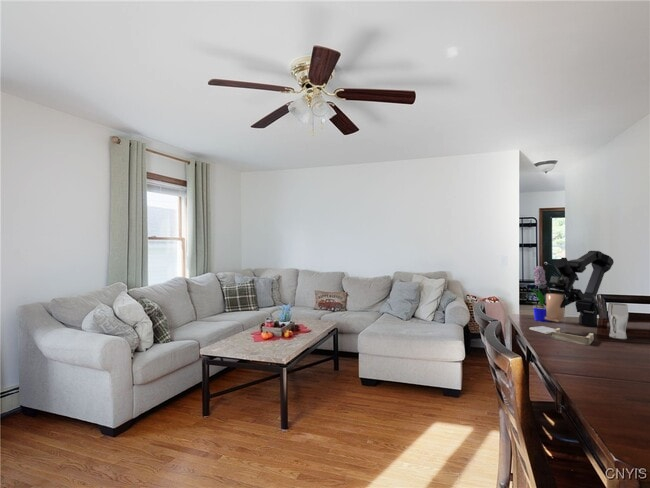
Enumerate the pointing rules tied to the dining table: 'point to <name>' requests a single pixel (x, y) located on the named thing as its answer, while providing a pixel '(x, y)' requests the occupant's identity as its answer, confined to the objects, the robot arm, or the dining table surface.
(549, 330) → the tile
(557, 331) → the frame
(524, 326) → the dining table surface
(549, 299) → the peach tapered rounded piece
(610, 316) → the beer glass
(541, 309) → the hyacinth
